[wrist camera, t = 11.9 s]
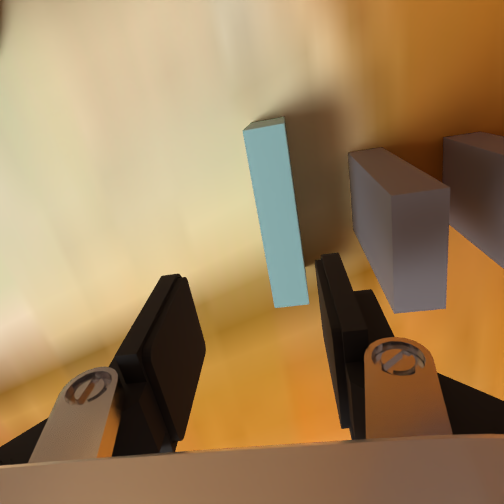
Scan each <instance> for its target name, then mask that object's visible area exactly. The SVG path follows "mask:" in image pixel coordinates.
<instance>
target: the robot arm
mask: <svg viewBox="0 0 504 504" xmlns="http://www.w3.org/2000/svg"><path fill="white" fill-rule="evenodd" d="M315 268H316V277H317V286H318V294H319V303H320V312H321V320H322V329H323V336H324V342H325V347H326V352H327V358H328V363H329V368H330V373H331V378H332V383H333V388H334V393H335V399H336V404H337V409H338V414H339V419H340V424H341V428H342V429H344V428H349V429H350V434H351V438H352V440H345V441H330V442H314V443H299V444H284V445H268V446H254V447H240V448H225V449H211V450H197V451H183V452H175V450H176V446H177V442H178V441H182V440H183V438H184V435H185V431H186V428H187V424H188V420H189V416H190V412H191V408H192V404H193V400H194V396H195V392H196V388H197V384H198V381H199V377H200V373H201V369H202V365H203V361H204V357H205V352H206V347H205V341H204V338H203V334H202V330H201V327H200V323H199V320H198V316H197V312H196V309H195V305H194V302H193V298H192V294H191V291H190V287H189V284H188V280H187V278H186V277H183V278H182V277H181V275H180V274H172V275H165V276H161V278H160V279H159V281H158V283H157V285H156V286H155V288H154V290H153V291H152V293H151V295H150V296H149V298H148V300H147V302H146V303H145V305H144V307H143V308H142V310H141V312H140V313H139V315H138V317H137V319H136V320H135V322H134V324H133V325H132V327H131V329H130V331H129V332H128V334H127V336H126V337H125V339H124V341H123V342H122V344H121V346H120V348H119V349H118V351H117V353H116V354H115V357H114V358H113V360H112V362H111V364H110V365H109V367H98V368H94V369H91V370H87V371H85V372H83V373H81V374H79V375H78V376H76V377H75V378H74V379H72V380H71V381H70V382H69V383H68V384H67V385H66V386H65V387H64V388H63V389H62V391H61V392H60V394H59V396H58V398H57V400H56V403H55V405H54V407H53V409H52V411H51V414H50V416H49V418H47V419H45V420H44V421H42V422H40V423H39V424H37V425H36V426H34V427H32V428H31V429H29V430H27V431H26V432H24V433H22V434H21V435H19V436H18V437H16V438H14V439H13V440H11V441H9V442H8V443H6V444H4V445H3V446H1V447H0V504H504V401H502V400H500V399H498V398H495V397H493V396H491V395H488V394H486V393H484V392H481V391H479V390H477V389H474V388H472V387H470V386H467V385H465V384H463V383H460V382H458V381H456V380H453V379H451V378H449V377H446V376H444V375H441V374H439V373H437V371H436V367H435V363H434V359H433V357H432V355H431V353H430V351H428V350H427V349H426V348H425V347H424V346H423V345H421V344H419V343H417V342H416V341H413V340H410V339H406V338H399V337H394V335H393V333H392V330H391V328H390V326H389V324H388V322H387V320H386V318H385V316H384V314H383V312H382V309H381V307H380V305H379V303H378V301H377V299H376V297H375V295H374V293H373V291H372V290H371V289H370V290H361V291H353V289H352V287H351V284H350V281H349V279H348V276H347V273H346V271H345V268H344V266H343V263H342V260H341V258H340V255H339V253H331V254H324V255H321V259H320V260H315Z"/></svg>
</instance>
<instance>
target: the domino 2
mask: <svg viewBox="0 0 504 504" xmlns="http://www.w3.org/2000/svg"><path fill="white" fill-rule="evenodd" d="M348 162H349V177H350V191H351V205H352V220H353V230H354V232H355V234H356V236H357V238H358V240H359V242H360V244H361V247H362V249H363V251H364V253H365V255H366V257H367V259H368V261H369V263H370V265H371V267H372V269H373V271H374V273H375V275H376V277H377V279H378V281H379V283H380V285H381V287H382V290H383V292H384V294H385V296H386V298H387V300H388V302H389V304H390V306H391V308H392V310H393V312H394V314H395V313H405V312H415V311H426V310H436V309H446V289H447V262H448V236H449V209H450V187H449V186H447V185H445V184H444V183H442V182H440V181H438V180H437V179H435V178H433V177H432V176H430V175H428V174H427V173H425V172H423V171H421V170H420V169H418V168H416V167H415V166H413V165H411V164H410V163H408V162H406V161H404V160H403V159H401V158H399V157H398V156H396V155H394V154H392V153H391V152H389V151H387V150H386V149H384V148H382V147H380V148H374V149H368V150H362V151H355V152H349V153H348Z"/></svg>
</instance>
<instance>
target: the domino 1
mask: <svg viewBox="0 0 504 504" xmlns="http://www.w3.org/2000/svg"><path fill="white" fill-rule="evenodd" d="M243 136H244V141H245V147H246V152H247V158H248V163H249V169H250V174H251V180H252V185H253V191H254V196H255V202H256V207H257V213H258V218H259V224H260V229H261V235H262V240H263V246H264V251H265V257H266V262H267V267H268V273H269V278H270V284H271V289H272V295H273V300H274V306H275V308H278V307H288V306H297V305H306V304H309V298H308V289H307V280H306V271H305V263H304V256H303V249H302V241H301V234H300V227H299V220H298V212H297V205H296V198H295V191H294V183H293V176H292V169H291V162H290V154H289V147H288V140H287V133H286V125H285V118H284V117H279V118H274V119H269V120H263V121H258V122H253V123H250V124H249V125H248V126H247V127H246V128H245V129H244V130H243Z"/></svg>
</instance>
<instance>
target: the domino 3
mask: <svg viewBox="0 0 504 504" xmlns="http://www.w3.org/2000/svg"><path fill="white" fill-rule="evenodd" d="M442 183H444V184H445V185H447V186H449V187H450V209H449V225H450V226H452V227H453V228H454V229H455V230H457V231H458V232H459V233H460V234H462V235H463V236H464V237H465V238H466V239H468V240H469V241H470V242H471V243H473V244H474V245H475V246H476V247H478V248H479V249H480V250H481V251H483V252H484V253H485V254H486V255H487V256H489V257H490V258H491V259H492V260H494V261H495V262H496V263H497V264H499V265H500V266H501V267H502V268H503V269H504V136H499V135H494V134H489V133H484V132H475V133H468V134H462V135H456V136H449V137H444V142H443V177H442Z"/></svg>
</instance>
